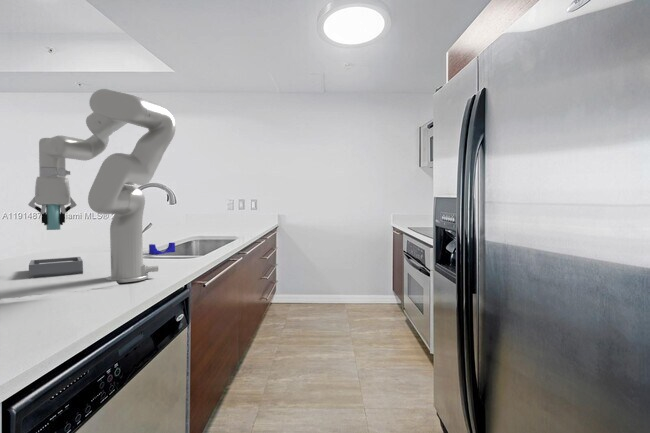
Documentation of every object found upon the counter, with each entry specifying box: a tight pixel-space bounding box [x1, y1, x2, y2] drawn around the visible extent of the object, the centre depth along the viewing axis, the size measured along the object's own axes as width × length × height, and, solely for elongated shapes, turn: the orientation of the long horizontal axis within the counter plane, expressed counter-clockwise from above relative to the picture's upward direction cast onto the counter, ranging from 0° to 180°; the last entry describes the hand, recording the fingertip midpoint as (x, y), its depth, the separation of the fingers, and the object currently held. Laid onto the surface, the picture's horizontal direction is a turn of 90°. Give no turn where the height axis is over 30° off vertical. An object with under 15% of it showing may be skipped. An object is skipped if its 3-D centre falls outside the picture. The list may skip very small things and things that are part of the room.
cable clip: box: [148, 242, 176, 256], centre depth 185 cm, size 12×4×6 cm, turn 144°
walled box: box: [28, 256, 84, 279], centre depth 134 cm, size 15×16×4 cm
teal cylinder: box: [45, 204, 61, 231], centre depth 132 cm, size 4×4×9 cm
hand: (53, 224), depth 132 cm, fingers closed on teal cylinder, 4 cm apart
